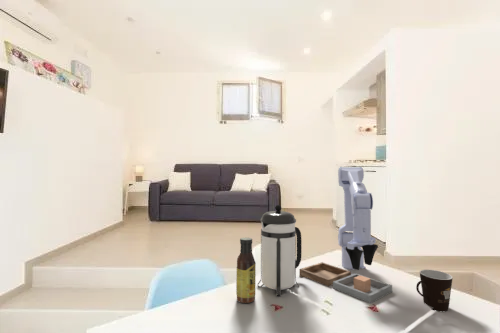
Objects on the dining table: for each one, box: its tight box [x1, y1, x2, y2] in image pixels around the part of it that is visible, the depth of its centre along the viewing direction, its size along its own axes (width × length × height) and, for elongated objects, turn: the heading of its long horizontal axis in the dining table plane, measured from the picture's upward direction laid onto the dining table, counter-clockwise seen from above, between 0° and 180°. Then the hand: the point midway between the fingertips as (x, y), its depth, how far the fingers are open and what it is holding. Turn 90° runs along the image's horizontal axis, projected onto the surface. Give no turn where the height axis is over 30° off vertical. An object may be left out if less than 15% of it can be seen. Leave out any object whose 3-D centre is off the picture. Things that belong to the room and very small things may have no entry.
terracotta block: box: [354, 274, 371, 293], centre depth 98 cm, size 4×4×4 cm
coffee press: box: [257, 204, 302, 297], centre depth 102 cm, size 17×16×30 cm
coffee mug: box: [416, 269, 453, 312], centre depth 88 cm, size 12×9×10 cm
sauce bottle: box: [235, 237, 256, 304], centre depth 92 cm, size 7×6×20 cm
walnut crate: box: [299, 261, 352, 287], centre depth 110 cm, size 14×14×3 cm
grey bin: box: [332, 272, 393, 304], centre depth 98 cm, size 14×14×3 cm
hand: (362, 266), depth 98 cm, fingers open, 7 cm apart
